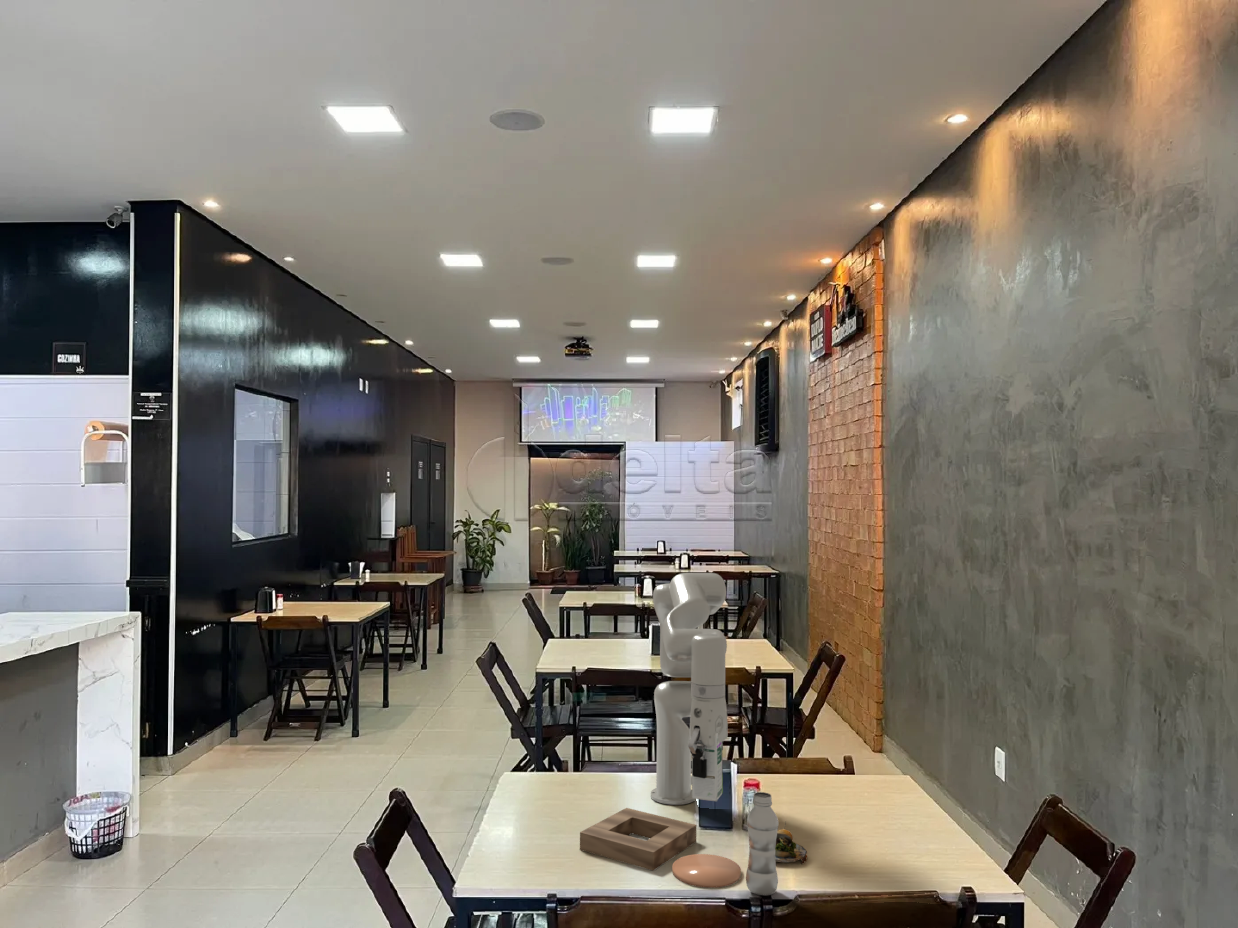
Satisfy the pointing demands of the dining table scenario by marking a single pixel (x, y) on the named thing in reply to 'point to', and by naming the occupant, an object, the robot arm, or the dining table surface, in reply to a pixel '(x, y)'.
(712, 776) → the syrup box
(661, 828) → the holder
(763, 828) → the plastic bottle
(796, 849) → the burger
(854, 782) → the dining table surface
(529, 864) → the dining table surface
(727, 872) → the plate
